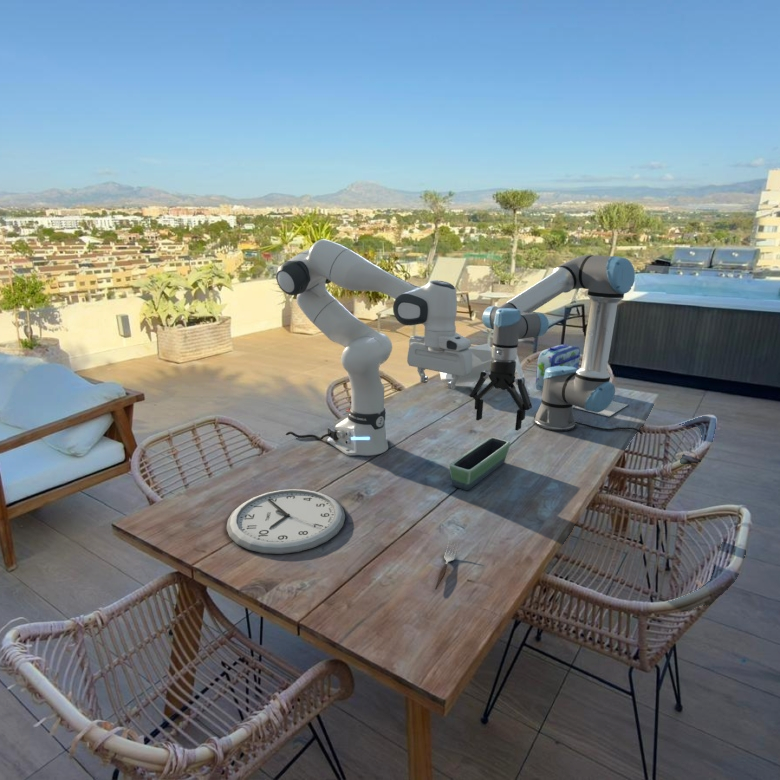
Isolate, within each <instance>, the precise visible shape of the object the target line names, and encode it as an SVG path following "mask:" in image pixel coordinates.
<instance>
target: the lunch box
mask: <svg viewBox="0 0 780 780" xmlns="http://www.w3.org/2000/svg"><path fill="white" fill-rule="evenodd" d="M580 350H581V349H580V347H579V346H572V345H566V344H559V345H555V346H552V347H549V348H547V349H544V350H542V351H541V352H540V353H539V355H538V357H537V362H536V374H535V389H536V390H537V391H541V392H542V391H543V380H544V379H543V378H544V375H545V370H546V369H547V368H549V367H555V366H570V367H575V368H577V370H578V369H579V368H580V357H581V351H580Z"/></svg>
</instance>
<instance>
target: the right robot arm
mask: <svg viewBox="0 0 780 780" xmlns="http://www.w3.org/2000/svg"><path fill="white" fill-rule="evenodd" d="M635 273H636V272H635V268H634V265H633V264H632V262H631V261H630V259H628V258H627V257H621V256H616V255H595V254H586V255H581V256H578V257H575V258H572V259H569V260H568V261H566V262H563V263H562V264H560V265H558V266H557V267H555V268H554V269H553V270H552V272H551V274H549V275H548V276H546V277H545V278H543V279H542V280H540V281H538V282H537V283H535V284H534V285H532V286H530V287H529V288H527V289H526V290H524V291H522V292H521V293H519V294H517V295H516V296H515V297H513V298H511V299H509V300H508V301H507V302H505V303H503V304H501V305H500V306H496V305H494V306H493V305H492V306H491V305H490V306H488V307H487V308H485V309H484V311H483V313H482V315H481V316H482V317H481V320H482V324H483V325H484V327H485V328H487V329H490V330H492V331H493V335H492V347H491V348H492V358H493V359H492V360H491V372H490V373H489V372H487V371H486V370H485V371H483V372H481V374H480V379H479V380H478V382H477V383H475V386H474V387H473V389H472V390H471V392H470V394H469V397H470V398H472V399H474V410H476V412H475V413H476V416H475V421H478V422H479V421H480V420H482V419H483V411H484V410H483V409H484V399H483V398H484V396H485V395H486V394H487V393H488V392H490V391H491V390H492V389H493V388H495V389H500V390H502V391H506V392H507V393H508V394H509V395H510V396H511V399H512V400H513V401H514V403H515V405H516V407H518V409H516V416H515V417H516V420H515V427H514V430H515V431H519V430H521V429H522V423H523V422H522V421H524V420H525V418H526V411H530V410H531V409H532V408H533V404H532V402H531V401H532V400H531V398H530V395H528V393H527V390H526V387H525V381H526V378H525V377H524V378H525V379H524V378H523V377H522V378H519V377H516V370H517V369H516V361H515V360H516V358H517V355H518V348H519V347H518V346H519V340H521V339H522V340H523V339H531V338H532V339H533V338H539V337H541V336H544V335H545V334H546V333H547V332H548V330H549V325H550V324H549V323H550V322H549V319H548V317H547V316H546V314H544V313H543V312H535V311H536V310H538V309H539V308H541V307H543V306H544V305H546V304H548V303H549V302H550V301H552V300H554V299H556V297H558V296H560V295H562V294H563V293H565V294H566V293H569V292H571V291H573V290H576V289H584V290H587V298H588V299H589V300H590V306H589V314H588V320H587V327H586V333H585V340H584V347H583V353H582V358H581V359H582V360H581V364H580V365H581V366H580V367H579V368H578V370H577V368H575V367H570V366H555V367H549V368H547V369H546V370H545V375H544V378H543V379H544V380H543V391H541V402H540V405H539V407H538V410H537V411H536V413H535V415H534V417H533V419H534V424H535V425H536V426H537V427H539V428H542V429H544V430H549V431H556V432H567V431H572V430H574V429H575V428H576V425H580V426H584V427H587V428H592V429H595V430H600V431H601V430H602V431H616V430H632V431H636V432H638V433H639V434H640V435H643V434H644V433H643V432H642V431H641V430H640V429H639V428H636V427H621V426H618V427H612V428H607V427H599V426H594V425H591V424H586V423H583V422H578V421H576V418H575V417H576V416H575V413H574V407H576V406H577V407H580V408H583V409H585V410H588V411H593V412H601V411H603V410H605V409H606V408H607V407H608V406H609V405H610V403H611V402H612V401H614V397H615V394H616V387H615V384H614V383H612V382H611V374H610V373H609V371H608V365H609V359H610V353H611V352H610V351H611V347H612V342H613V341H612V340H613V334H614V330H615V329H614V328H615V322H616V316H617V310H618V304H619V303H620V302H621V301H622V300H624V298H625V294H628V293H629V292H630V291H631V290H632V287H634V284H635V278H636V274H635ZM487 379H489V380H490V382H489V383H488V384H487V385H486V386H485V387H484V388H483V389H482V390H481V388H482V387H483V386H484V384H485V381H486V380H487ZM514 384H516V385H517V388H518V391H519V392H518V391H517V388H516V386H515V385H514ZM480 390H481V391H480ZM573 406H574V407H573ZM588 411H587V412H588Z"/></svg>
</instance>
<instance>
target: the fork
mask: <svg viewBox="0 0 780 780" xmlns="http://www.w3.org/2000/svg"><path fill="white" fill-rule="evenodd" d="M449 546H450V547H449ZM452 546H453V547H452ZM455 546H456V543H454V545H453V543H451V544H450V542H448V544H447V547H446V550H445V552H444V556H443V557H444V558H443V559H444V560H445V564H444V565H443V567H442V568H441V569H440V571H439V573H438V578H437V581H436V584H435V588H434V589H435V590H437V589H438V587H439V585H440V584H441V582H442V580H443V579H444V577H445V575H446V572H447V568H448V564H449V563H450V562H453V561H455V560H456V557H457V552H458V549H459V544H457V546H456V548H455Z"/></svg>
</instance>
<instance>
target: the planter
mask: <svg viewBox="0 0 780 780" xmlns="http://www.w3.org/2000/svg"><path fill="white" fill-rule="evenodd" d="M510 445H511V442H510V441H509V440H505V439H501V438H497V437H489V438H487V439H485V440H484V441H482V442H480V443H479V444H478V445H476V446H475V447H474V448H472V449H471V450H469V451H468V452H466V453H465V454H463V455H461V456H460V457H459V458H457V459H455V460H454V461H452V462H451V463H450V464H449V473H450V477H451V482H452V486H453V487H455V488H458V489H461V490H463V491H470V490H471V489H472V488H473V487H475V486H476V485H478V484H479V483H480V482H481V481H483V480H484V479H485V478H487V476H489V475H490V474H491V473H493V472H494V471H495V470H496V469H498V468H499V467H501V466H502V465H503V464H504V463H505V462H506V458H507V456H508V452H509V448H510V447H511V446H510Z"/></svg>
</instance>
